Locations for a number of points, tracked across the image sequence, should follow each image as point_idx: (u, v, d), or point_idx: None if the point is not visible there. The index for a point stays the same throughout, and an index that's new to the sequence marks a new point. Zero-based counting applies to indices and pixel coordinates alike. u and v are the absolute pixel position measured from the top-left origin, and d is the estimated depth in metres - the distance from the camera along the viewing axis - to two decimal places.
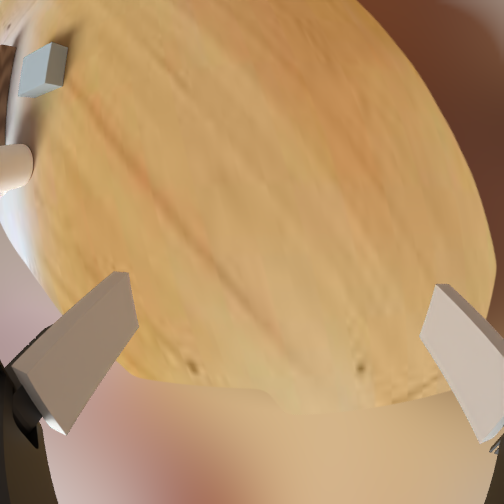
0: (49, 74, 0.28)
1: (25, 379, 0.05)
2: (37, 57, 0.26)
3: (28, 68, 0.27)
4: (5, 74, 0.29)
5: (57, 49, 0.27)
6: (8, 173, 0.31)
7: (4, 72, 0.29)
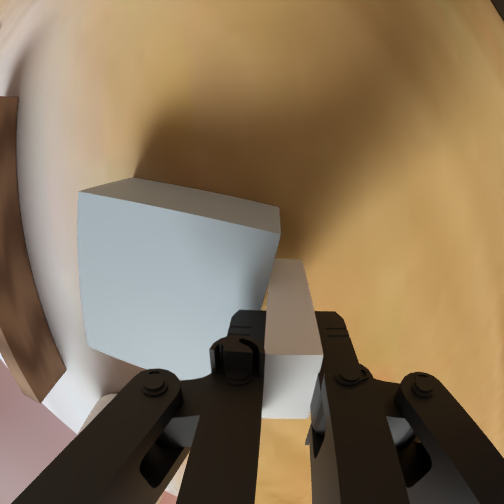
0: None
1: (283, 363, 0.07)
2: (172, 257, 0.10)
3: (117, 274, 0.10)
4: (2, 193, 0.13)
5: None
6: (162, 493, 0.15)
7: None
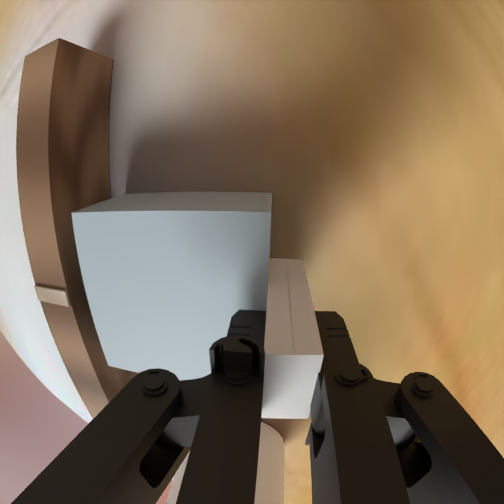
0: None
1: (282, 363, 0.07)
2: (170, 257, 0.10)
3: (121, 285, 0.10)
4: (93, 183, 0.12)
5: (270, 230, 0.11)
6: None
7: (87, 176, 0.12)
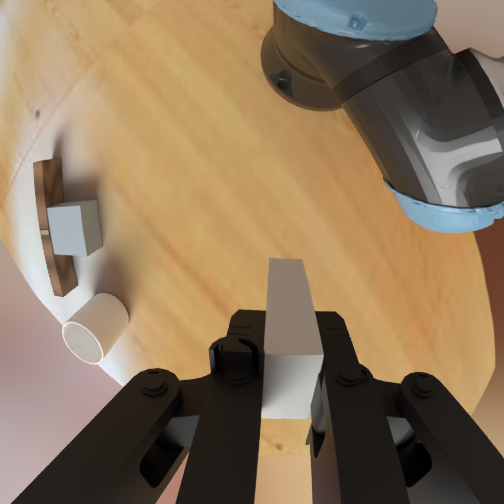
0: (88, 243, 0.38)
1: (282, 363, 0.07)
2: (65, 217, 0.36)
3: (57, 225, 0.37)
4: (57, 199, 0.38)
5: (87, 210, 0.37)
6: (113, 341, 0.40)
7: (55, 198, 0.38)
